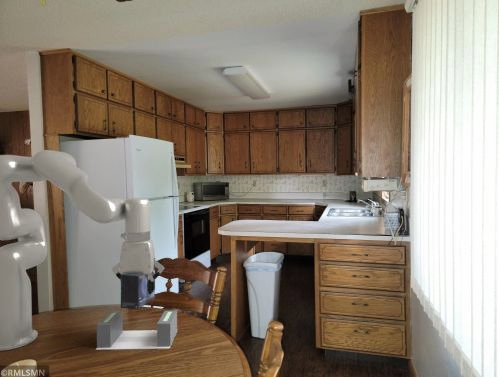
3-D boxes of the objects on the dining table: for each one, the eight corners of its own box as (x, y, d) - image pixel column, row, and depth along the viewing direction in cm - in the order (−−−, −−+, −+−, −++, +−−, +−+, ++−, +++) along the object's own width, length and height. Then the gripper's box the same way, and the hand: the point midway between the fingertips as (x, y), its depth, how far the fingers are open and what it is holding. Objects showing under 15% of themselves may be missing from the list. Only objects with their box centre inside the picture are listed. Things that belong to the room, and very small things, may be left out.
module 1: (97, 347, 97) (96, 324, 97) (110, 332, 107) (110, 311, 107) (110, 347, 97) (110, 324, 97) (122, 332, 107) (122, 310, 107)
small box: (139, 310, 97) (138, 275, 96) (119, 308, 98) (119, 274, 98) (156, 297, 107) (155, 266, 107) (138, 296, 108) (137, 265, 108)
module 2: (157, 346, 98) (156, 323, 98) (165, 331, 108) (164, 310, 108) (170, 346, 98) (170, 323, 98) (177, 331, 108) (176, 310, 108)
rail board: (95, 354, 96) (95, 349, 96) (111, 335, 108) (111, 331, 108) (169, 353, 97) (169, 348, 97) (177, 334, 109) (177, 329, 109)
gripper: (105, 239, 98) (106, 297, 98) (162, 239, 98) (163, 296, 99) (114, 235, 105) (115, 289, 106) (168, 235, 106) (169, 288, 106)
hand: (138, 292), depth 102 cm, fingers closed on small box, 7 cm apart
